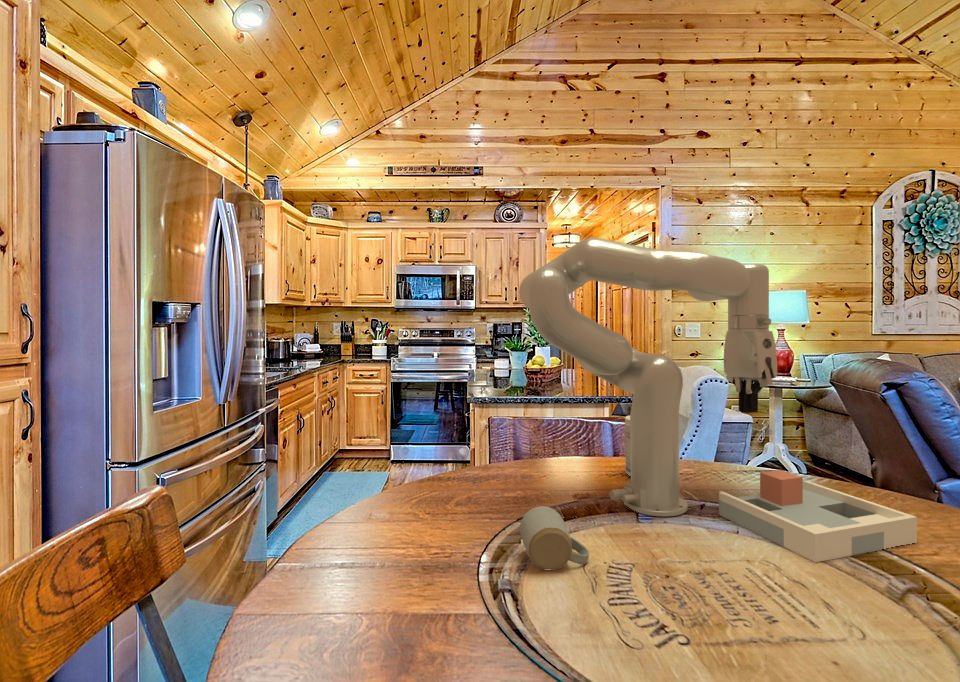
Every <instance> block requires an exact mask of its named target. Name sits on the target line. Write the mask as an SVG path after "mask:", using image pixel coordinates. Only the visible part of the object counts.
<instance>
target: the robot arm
mask: <svg viewBox="0 0 960 682" xmlns="http://www.w3.org/2000/svg"><path fill="white" fill-rule="evenodd" d="M769 272H770V271H769V268H768V267H767V266H766V265H765V264H761V263H747V264H743V263H741V262H740V261H737V260H735V259H731V258H728V257H727V258H726V257H722V256H718V255H717V256H716V255H713V254H707V253H699V252H693V251H692V252H691V251H690V252H689V251H678V250H671V249H670V250H669V249H661V248H660V249H659V248H658V249H657V248H650V247H646V246H645V247H644V246H639V245H635V244H630V243H623V242H620V241H616V240H609V239H605V238H601V237H600V238H598V237H589V238H588V237H587V238H584V239H582V240H580V241H579V242H578V243H576V244H574V245H572V246H571V247H569V248H568V249H567V250H566V251H564V252H563V253H560V254H559V255H558V256H556V257H555V258H553V259H552V260H551V261H549V262H547V263H546V264H543V265H542V266H540V267H539V268H537V269H536V270H534V271H532V272H530V273H529V274H528V275H526V276H524V278H523V279H522V281H521V282H520V285H519V290H518V294H519V299H520V300H521V303H522V304H523V305H524V306H525V307H526V308H528V310H529V315H530V317H531V320H532V322H533V325H534V327H535V329H536V331H537V332H538V333H539V335H540V336H541V338H542V339H544V340H545V341H546V342H547V343H548V344H550V345H552V346H553V347H555V348H557V349H558V350H560V351H562V352H564V353H565V354H567V355H568V356H570V357H572V358H573V359H575V360H576V362H577V363H578V365H579V366H580V367H581V368H583V369H584V370H585V371H587V372H589V373H590V374H591V375H594V376H597V377H598V378H599V379H602V380H603V381H606V382H607V383H609V384H611V385H613V386H615V387H617V388H619V389H621V390H623V391H625V392H627V393H629V394H631V395H632V402H631V407H630V414H629V415H630V457H631V477H630V481H628V482H625V486H624V487H623V488H621V489H618V488H617V489H611V490H609V497H610V499H611V500H612V501H613V500H614V501H615V500H622V503H623V502H624V503H625V504H626V505H627V506H628V507H629V508H631V509H632V510H634V511H633V512H635V511H636V512H635V513H638V512H639V513H638V514H641V513H642V515H646V516H651V517H652V516H653V517H654V516H655V517H666V518H667V517H675V516H680V515H683V514H685V513H686V512H687V511H688V509H689V508H688V502H687V501H686V500H685V499H684V498H683V497H681V496H680V432H679V429H680V427H679V425H680V422H679V419H680V418H679V417H680V405H681V398H682V394H683V386H684V382H683V381H684V379H683V373H682V370H681V368H680V367H679V365H678V364H677V362H675V360H673V359H672V358H670V357H668V356H666V355H663V354H659V353H651V352H642V351H640V350H638V349H636V348H635V347H633V346H632V345H631V343H630V342H629V340H628V339H627V338H626V337H625V336H623V335H622V334H620V333H619V332H616V331H614V330H612V329H610V328H608V327H606V326H605V325H602V324H601V323H599V322H596V321H595V320H593V319H591V318H589V317H588V316H586V315H585V314H583V313H581V312H580V311H578V310H577V309H576V308H575V307H574V306H573V303H571V299H570V295H571V294H572V293H573V292H575V291H576V290H578V289H579V288H581V287H582V286H584V285H585V284H586V283H588V282H590V281H594V282H599V283H606V284H609V285H617V286H620V287H627V288H631V289H635V290H642V291H652V292H654V291H655V292H657V291H686V292H687V293H688V294H689V296H690V297H691V298H693V299H695V300H697V301H701V302H713V301H714V302H715V301H722V300H727V331H726V334H725V341H724V348H723V371H724V374H725V375H726V378H725V379H726V381H728V382H730V383H731V384H733V385H734V387H735V390H736V392H737V393H738V412H739V413H746V414H750V413H751V414H753V413H758V412H759V394H761V391H762V390H763V388H764V387H771V386H772V385H773V379H775V378H777V376H778V357H777V356H778V355H777V348H776V341H775V337H774V336H775V335H774V332H773V330H770V325H771V323H772V319H771V318H770V273H769ZM624 503H623V504H624ZM629 508H628V509H629ZM632 510H631V511H632Z"/></svg>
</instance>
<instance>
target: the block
mask: <svg viewBox="0 0 960 682" xmlns="http://www.w3.org/2000/svg"><path fill="white" fill-rule="evenodd" d="M759 479H760V480H759V492H760V493H759V494H760V498H763V499H765V500H768V501H770V502H773V503H775V504H778V505H780V506H786V505H793V504H800V503H803V481H804V480H803V479H804V478H803V476H800V475H797V474H794V473H791V472H787V471H784V470H781V469H779V470H771V471H770V470H769V471H762V472H759Z"/></svg>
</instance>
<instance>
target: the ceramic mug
mask: <svg viewBox="0 0 960 682" xmlns="http://www.w3.org/2000/svg"><path fill="white" fill-rule="evenodd" d="M519 534H520V536H521V540H522V542H523V545H524V548H525V552H526V553H527V556H528V558H529V560H530V561H531V562H532V563H533V564H534V565H535V566H536V567H537V568H538V569H540V568H541V569H540V570H543V569H551V571H554V570H553V569H557V570H558V568H559V569H561V568H562V567H564V566H565V565H566V564H568V562H569V561H570V562H571V563H575V564H578V565H585V564H587V562H586V561H588V559H589V557H590V552H589V550H588V549H587V547H586V546H585V545H583V544H582V542H580V541H578V540H577V539H575V538H574V537H572V536H571V535H570V533H569V531H568V529H567V525H566V524H565V521H564V519H563V517H562V515H561V514H560V513H559V512H558V511H557V510H555V509H554V508H551V507H549V506H543V505H540V506H536V507H533V508H532V509H529V510H528V511H527V512H526V513H525V514H524V515H523V517H522V519H521V521H520V524H519ZM573 550H574V551H573ZM584 563H585V564H584Z"/></svg>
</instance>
